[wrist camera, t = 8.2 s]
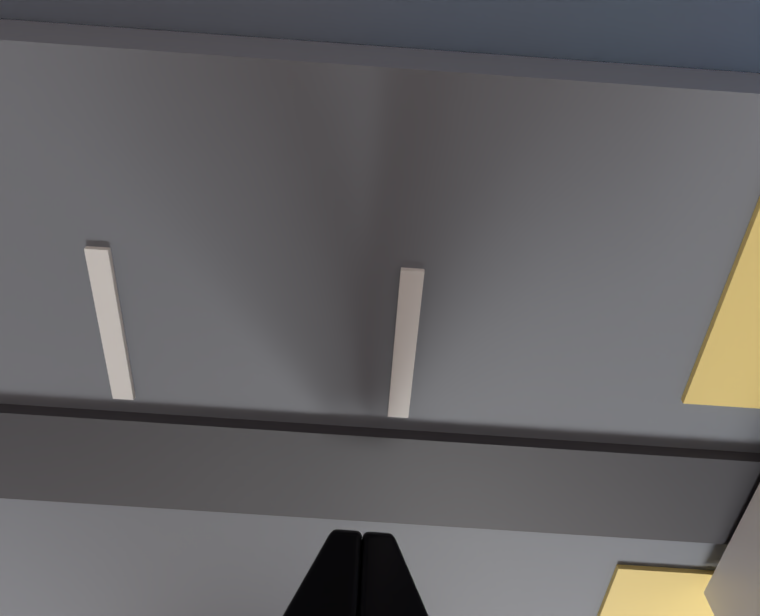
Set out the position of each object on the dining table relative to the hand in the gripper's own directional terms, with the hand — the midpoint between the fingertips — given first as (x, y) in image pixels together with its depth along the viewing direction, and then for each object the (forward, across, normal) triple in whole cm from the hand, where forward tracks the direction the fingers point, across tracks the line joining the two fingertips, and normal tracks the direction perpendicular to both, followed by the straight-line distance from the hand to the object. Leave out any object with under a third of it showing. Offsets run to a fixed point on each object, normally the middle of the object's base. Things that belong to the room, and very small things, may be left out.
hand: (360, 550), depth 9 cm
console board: (+3, 0, 0) cm, 3 cm away
